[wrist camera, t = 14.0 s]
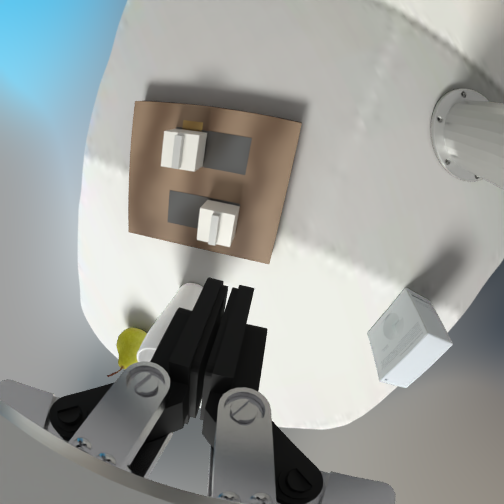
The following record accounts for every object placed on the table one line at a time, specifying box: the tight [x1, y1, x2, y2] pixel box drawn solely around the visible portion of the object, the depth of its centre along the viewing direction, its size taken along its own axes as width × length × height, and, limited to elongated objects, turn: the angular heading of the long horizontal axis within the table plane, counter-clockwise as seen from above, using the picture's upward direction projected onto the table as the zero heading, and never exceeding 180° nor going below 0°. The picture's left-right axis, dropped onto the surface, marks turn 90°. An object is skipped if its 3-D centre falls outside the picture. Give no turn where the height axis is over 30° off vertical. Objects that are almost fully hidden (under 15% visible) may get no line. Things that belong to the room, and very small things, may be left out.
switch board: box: [128, 101, 302, 264], centre depth 35 cm, size 20×18×3 cm
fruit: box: [107, 328, 147, 377], centre depth 47 cm, size 7×7×12 cm
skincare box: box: [367, 288, 453, 388], centre depth 38 cm, size 10×6×10 cm, turn 155°
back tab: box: [197, 200, 240, 247], centre depth 34 cm, size 4×4×4 cm
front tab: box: [161, 129, 207, 172], centre depth 30 cm, size 4×4×4 cm
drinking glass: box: [137, 283, 203, 362], centre depth 39 cm, size 7×7×15 cm
